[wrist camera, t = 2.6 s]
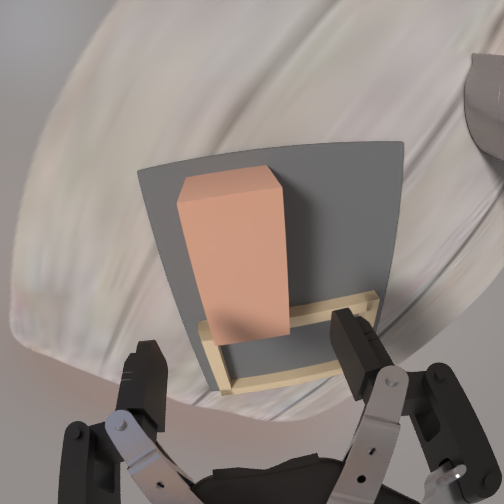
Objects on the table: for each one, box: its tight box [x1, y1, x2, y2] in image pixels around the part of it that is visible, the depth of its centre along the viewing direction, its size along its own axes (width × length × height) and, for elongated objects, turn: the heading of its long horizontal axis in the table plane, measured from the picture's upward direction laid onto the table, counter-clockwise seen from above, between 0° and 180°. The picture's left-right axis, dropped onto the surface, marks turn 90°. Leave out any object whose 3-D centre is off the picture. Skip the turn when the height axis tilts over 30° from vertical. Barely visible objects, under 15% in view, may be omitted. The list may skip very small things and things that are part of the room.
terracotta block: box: [177, 165, 290, 346], centre depth 18 cm, size 10×5×4 cm, turn 7°
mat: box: [137, 141, 404, 396], centre depth 22 cm, size 24×18×2 cm
